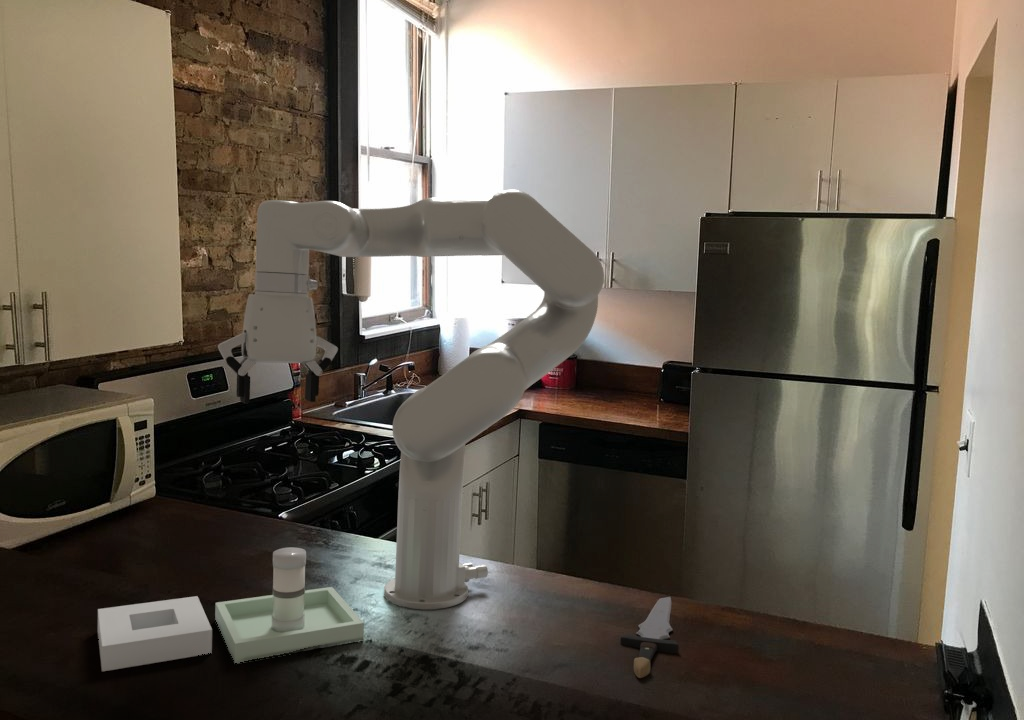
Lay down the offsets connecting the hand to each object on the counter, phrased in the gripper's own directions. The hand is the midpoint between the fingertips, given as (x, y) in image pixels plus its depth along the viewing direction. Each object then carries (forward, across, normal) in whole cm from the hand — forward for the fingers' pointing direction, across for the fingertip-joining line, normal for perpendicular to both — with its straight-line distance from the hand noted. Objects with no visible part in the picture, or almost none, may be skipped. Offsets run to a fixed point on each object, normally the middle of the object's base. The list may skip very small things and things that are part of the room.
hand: (278, 401), depth 119 cm
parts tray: (+28, +2, +17) cm, 33 cm away
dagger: (+29, -44, +36) cm, 64 cm away
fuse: (+28, +2, +17) cm, 32 cm away
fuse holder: (+28, +18, +13) cm, 36 cm away
